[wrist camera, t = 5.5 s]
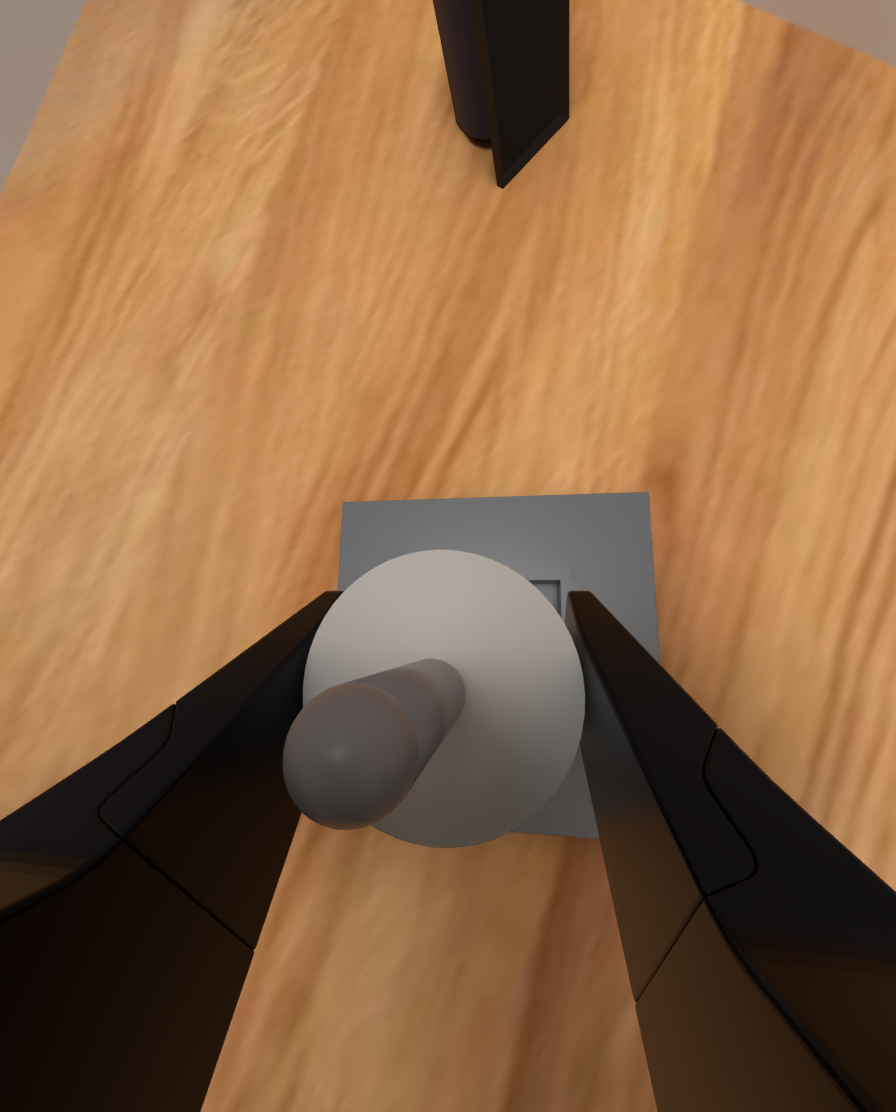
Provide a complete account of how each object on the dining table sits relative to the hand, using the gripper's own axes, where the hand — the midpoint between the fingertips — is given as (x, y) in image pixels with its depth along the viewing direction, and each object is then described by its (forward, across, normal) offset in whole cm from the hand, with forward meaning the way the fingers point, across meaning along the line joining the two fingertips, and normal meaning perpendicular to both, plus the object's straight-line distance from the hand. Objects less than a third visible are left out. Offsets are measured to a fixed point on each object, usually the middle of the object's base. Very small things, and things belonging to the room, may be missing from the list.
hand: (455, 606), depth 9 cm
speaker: (+28, 0, -12) cm, 30 cm away
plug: (+3, 0, +5) cm, 6 cm away
